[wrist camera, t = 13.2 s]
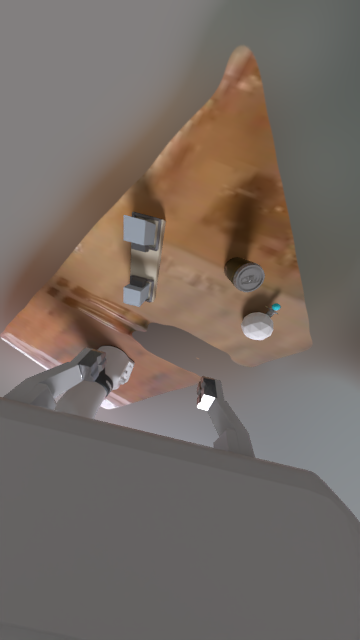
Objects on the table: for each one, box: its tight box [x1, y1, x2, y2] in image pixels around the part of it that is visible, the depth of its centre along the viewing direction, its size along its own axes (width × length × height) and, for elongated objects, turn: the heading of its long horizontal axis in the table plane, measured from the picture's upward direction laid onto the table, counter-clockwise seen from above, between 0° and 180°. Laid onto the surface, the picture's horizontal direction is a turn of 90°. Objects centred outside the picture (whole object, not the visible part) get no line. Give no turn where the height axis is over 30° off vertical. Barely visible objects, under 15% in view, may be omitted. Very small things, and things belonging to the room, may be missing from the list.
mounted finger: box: [124, 277, 150, 307], centre depth 35 cm, size 6×4×7 cm
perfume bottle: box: [241, 303, 281, 340], centre depth 38 cm, size 8×8×12 cm
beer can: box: [224, 257, 265, 292], centre depth 30 cm, size 5×5×12 cm
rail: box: [130, 212, 166, 302], centre depth 35 cm, size 20×7×3 cm, turn 167°
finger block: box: [124, 215, 156, 252], centre depth 29 cm, size 6×4×7 cm
